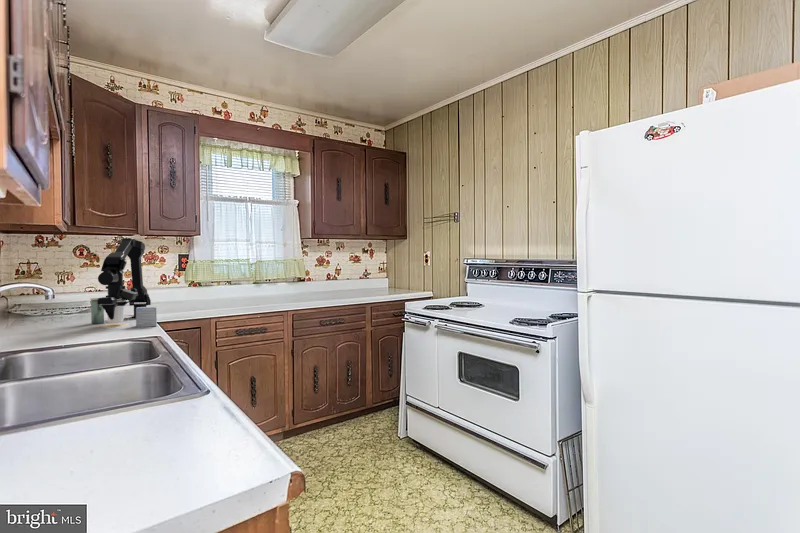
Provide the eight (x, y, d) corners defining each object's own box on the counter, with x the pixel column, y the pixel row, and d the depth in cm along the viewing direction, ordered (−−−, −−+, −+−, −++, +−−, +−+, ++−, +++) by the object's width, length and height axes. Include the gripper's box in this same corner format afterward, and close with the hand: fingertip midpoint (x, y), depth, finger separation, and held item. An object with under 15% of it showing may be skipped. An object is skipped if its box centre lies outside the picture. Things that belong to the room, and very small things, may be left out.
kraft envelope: (110, 323, 198) (110, 323, 198) (131, 323, 199) (131, 322, 199) (93, 328, 184) (93, 327, 184) (115, 328, 186) (115, 327, 186)
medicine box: (156, 325, 195) (156, 306, 195) (156, 326, 191) (156, 307, 191) (136, 326, 192) (136, 307, 191) (135, 327, 188) (135, 308, 188)
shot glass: (121, 320, 197) (121, 305, 197) (127, 321, 193) (127, 306, 192) (104, 321, 192) (104, 306, 191) (109, 323, 187) (109, 307, 187)
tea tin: (95, 323, 200) (94, 298, 200) (106, 323, 200) (106, 297, 200) (88, 325, 195) (87, 298, 195) (100, 324, 195) (99, 298, 195)
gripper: (124, 285, 184) (124, 321, 184) (143, 282, 202) (144, 315, 202) (96, 285, 182) (96, 321, 182) (118, 282, 201) (118, 315, 201)
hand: (115, 318), depth 192 cm, fingers closed on shot glass, 6 cm apart
